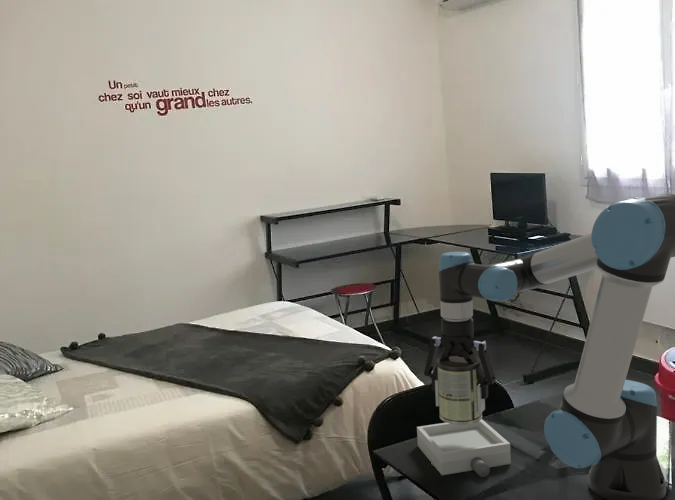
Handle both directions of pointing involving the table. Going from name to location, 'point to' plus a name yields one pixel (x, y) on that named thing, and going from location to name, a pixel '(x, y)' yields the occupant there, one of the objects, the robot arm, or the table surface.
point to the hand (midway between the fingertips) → (460, 407)
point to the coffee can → (458, 391)
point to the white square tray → (463, 447)
